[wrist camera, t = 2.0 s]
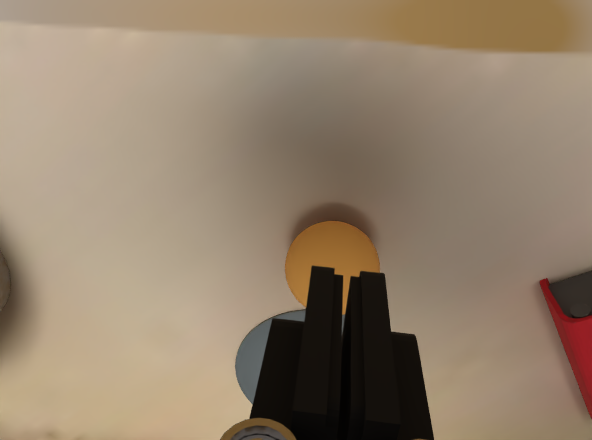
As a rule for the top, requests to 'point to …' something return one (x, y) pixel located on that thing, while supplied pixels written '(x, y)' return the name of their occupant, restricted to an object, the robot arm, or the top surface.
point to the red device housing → (574, 325)
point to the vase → (4, 282)
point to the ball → (329, 256)
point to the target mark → (258, 353)
